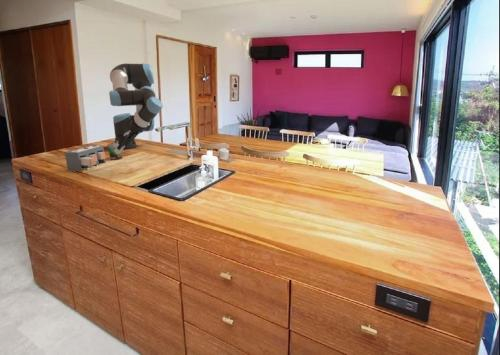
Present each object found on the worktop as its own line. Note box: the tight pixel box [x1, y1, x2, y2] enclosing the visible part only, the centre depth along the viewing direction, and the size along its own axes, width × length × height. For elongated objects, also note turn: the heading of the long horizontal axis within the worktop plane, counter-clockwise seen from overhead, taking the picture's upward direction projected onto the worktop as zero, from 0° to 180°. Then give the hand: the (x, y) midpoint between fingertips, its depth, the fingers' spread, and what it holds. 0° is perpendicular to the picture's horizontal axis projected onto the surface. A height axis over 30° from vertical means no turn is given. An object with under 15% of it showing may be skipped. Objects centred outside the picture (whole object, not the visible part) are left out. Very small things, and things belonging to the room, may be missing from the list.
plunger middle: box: [89, 154, 98, 161], centre depth 181 cm, size 8×4×4 cm, turn 74°
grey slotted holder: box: [64, 144, 106, 172], centre depth 182 cm, size 8×19×10 cm, turn 164°
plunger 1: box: [80, 157, 96, 167], centre depth 174 cm, size 8×4×4 cm, turn 74°
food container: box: [107, 141, 123, 161], centre depth 200 cm, size 12×6×10 cm, turn 179°
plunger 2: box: [97, 151, 106, 160], centre depth 187 cm, size 8×4×4 cm, turn 74°
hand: (116, 152), depth 178 cm, fingers closed
